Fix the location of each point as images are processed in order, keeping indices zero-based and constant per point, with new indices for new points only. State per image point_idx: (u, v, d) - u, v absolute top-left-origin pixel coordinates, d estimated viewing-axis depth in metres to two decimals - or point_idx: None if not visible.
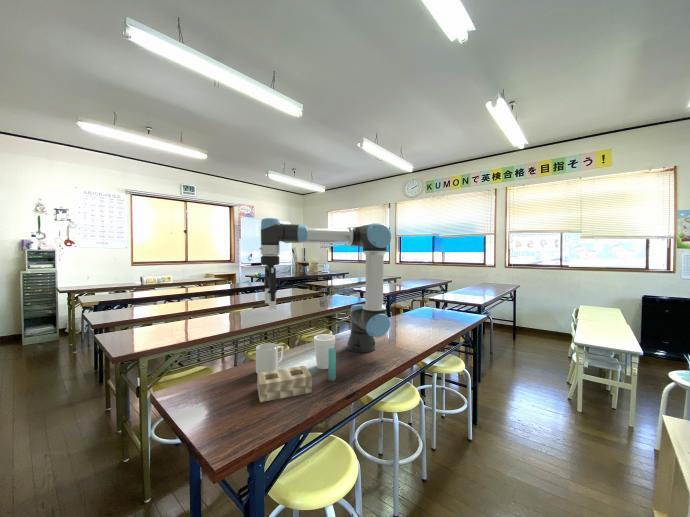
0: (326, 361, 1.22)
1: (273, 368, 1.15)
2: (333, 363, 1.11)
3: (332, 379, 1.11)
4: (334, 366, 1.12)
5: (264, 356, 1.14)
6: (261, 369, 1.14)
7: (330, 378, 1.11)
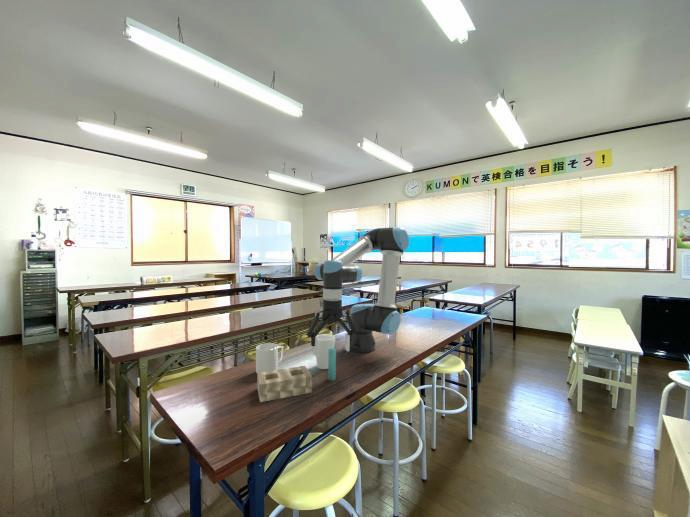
0: (326, 361, 1.22)
1: (273, 368, 1.15)
2: (333, 363, 1.11)
3: (332, 379, 1.11)
4: (334, 366, 1.12)
5: (264, 356, 1.14)
6: (261, 369, 1.14)
7: (330, 378, 1.11)
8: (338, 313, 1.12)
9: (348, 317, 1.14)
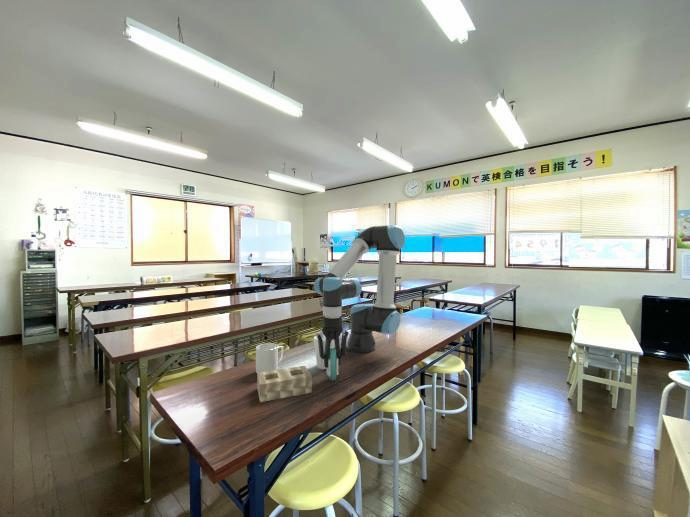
0: None
1: (273, 368, 1.15)
2: (333, 363, 1.11)
3: (332, 379, 1.12)
4: (334, 365, 1.12)
5: (264, 356, 1.14)
6: (261, 369, 1.14)
7: (330, 378, 1.12)
8: (339, 329, 1.12)
9: (345, 338, 1.13)
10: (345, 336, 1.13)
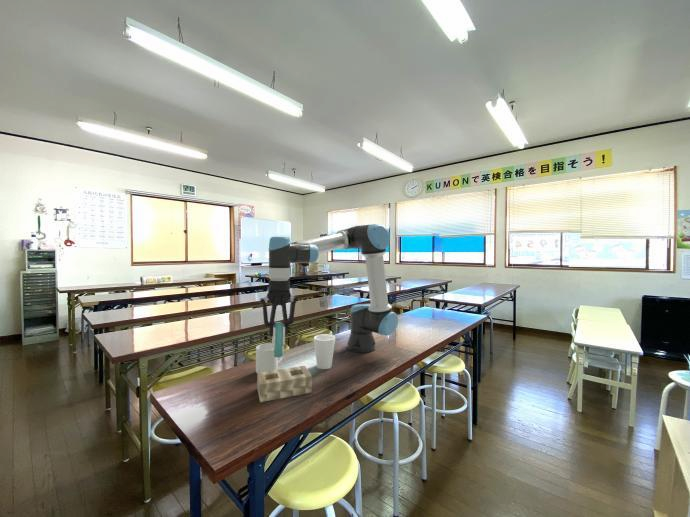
0: (326, 361, 1.22)
1: (273, 368, 1.15)
2: (279, 338, 1.01)
3: (278, 356, 1.01)
4: (280, 341, 1.01)
5: (264, 356, 1.14)
6: (261, 369, 1.14)
7: (275, 354, 1.01)
8: (286, 294, 1.02)
9: (293, 304, 1.03)
10: (293, 302, 1.03)
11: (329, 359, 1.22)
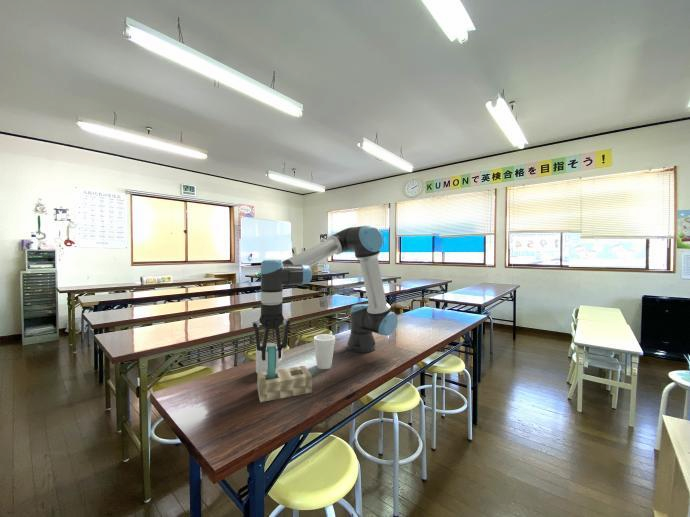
0: (326, 361, 1.22)
1: None
2: (272, 362, 1.00)
3: None
4: (273, 365, 1.00)
5: None
6: (261, 369, 1.14)
7: (268, 379, 1.00)
8: (279, 317, 1.01)
9: (286, 327, 1.02)
10: (286, 325, 1.02)
11: (329, 359, 1.22)
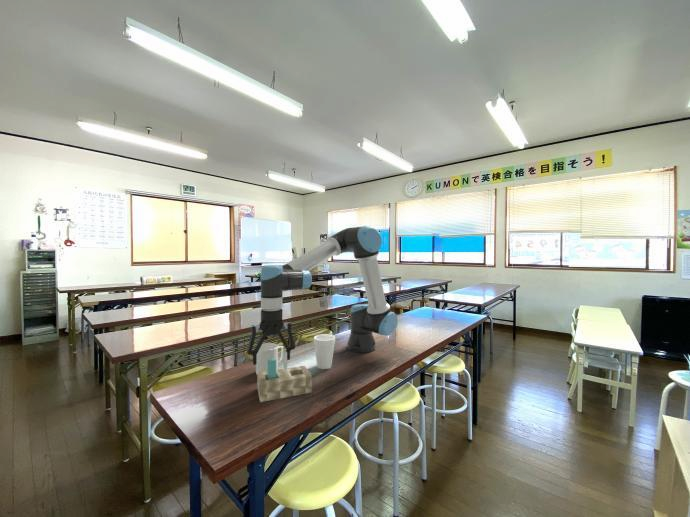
0: (326, 361, 1.22)
1: None
2: (272, 375, 1.00)
3: None
4: (273, 378, 1.00)
5: (264, 356, 1.14)
6: (261, 369, 1.14)
7: None
8: (278, 324, 1.01)
9: (289, 330, 1.02)
10: (288, 328, 1.02)
11: (329, 359, 1.22)
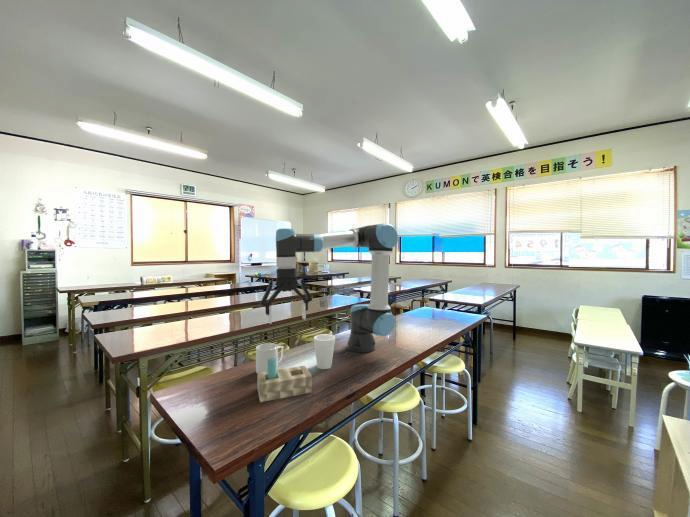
0: (326, 361, 1.22)
1: None
2: (272, 375, 1.00)
3: None
4: (273, 378, 1.00)
5: (264, 356, 1.14)
6: (261, 369, 1.14)
7: None
8: (292, 281, 1.12)
9: (303, 285, 1.13)
10: (302, 284, 1.13)
11: (329, 359, 1.22)
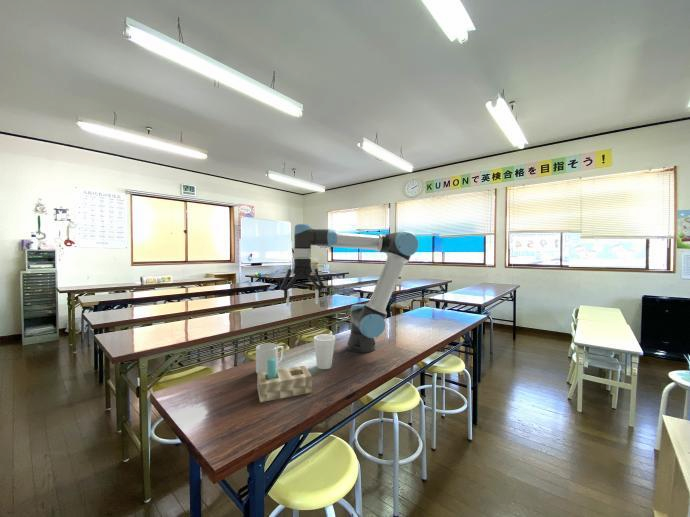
0: (326, 361, 1.22)
1: None
2: (272, 375, 1.00)
3: None
4: (273, 378, 1.00)
5: (264, 356, 1.14)
6: (261, 369, 1.14)
7: None
8: (308, 270, 1.28)
9: (317, 274, 1.30)
10: (316, 273, 1.30)
11: (329, 359, 1.22)
